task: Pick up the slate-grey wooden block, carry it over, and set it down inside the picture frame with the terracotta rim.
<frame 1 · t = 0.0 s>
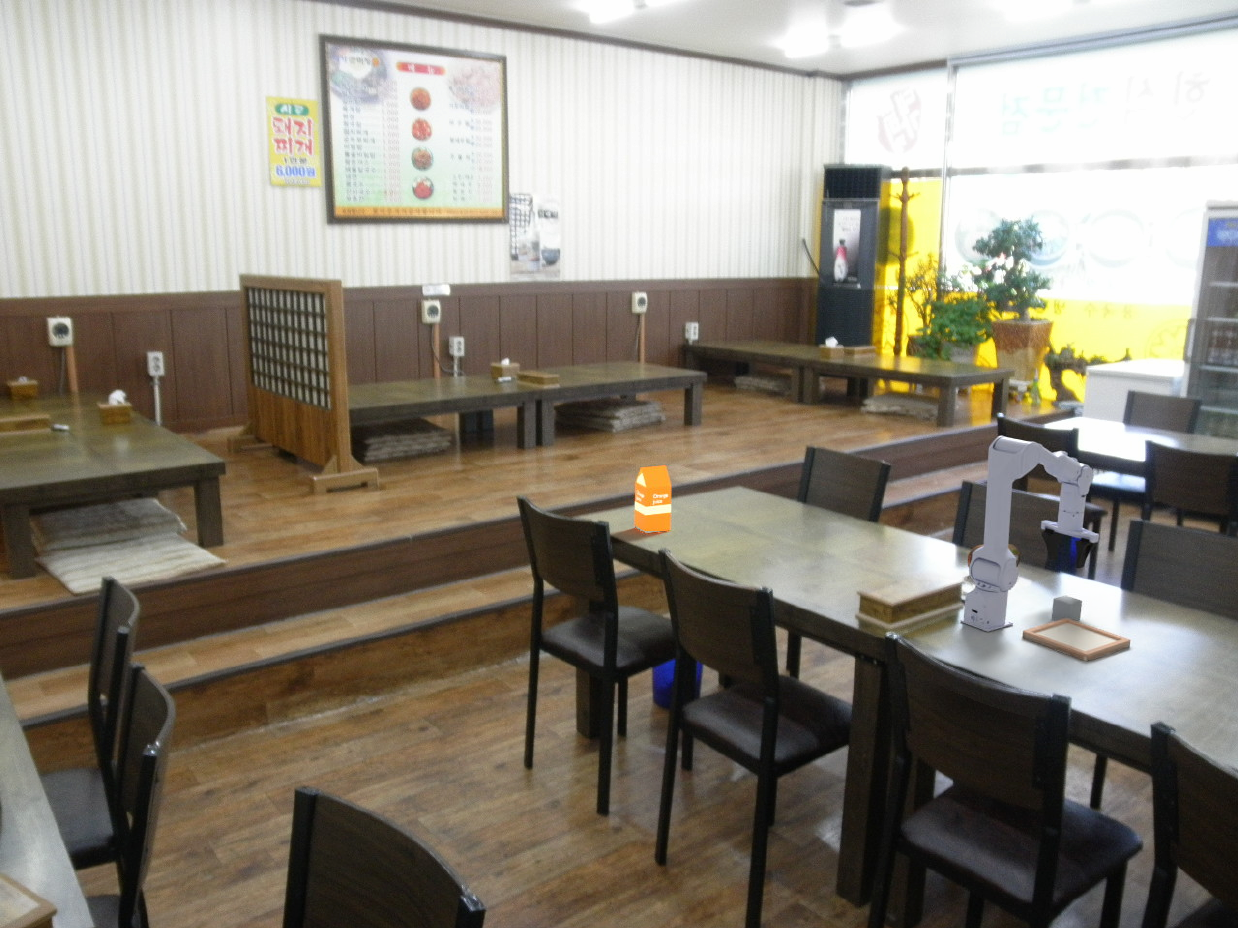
hand: (1065, 563, 256), 10 cm above the table, tool pointing down, fingers open, 7 cm apart
tin: (992, 574, 280), on the table
orange juice: (652, 530, 320), on the table
picture frame: (1075, 641, 232), on the table
block: (1065, 619, 246), on the table
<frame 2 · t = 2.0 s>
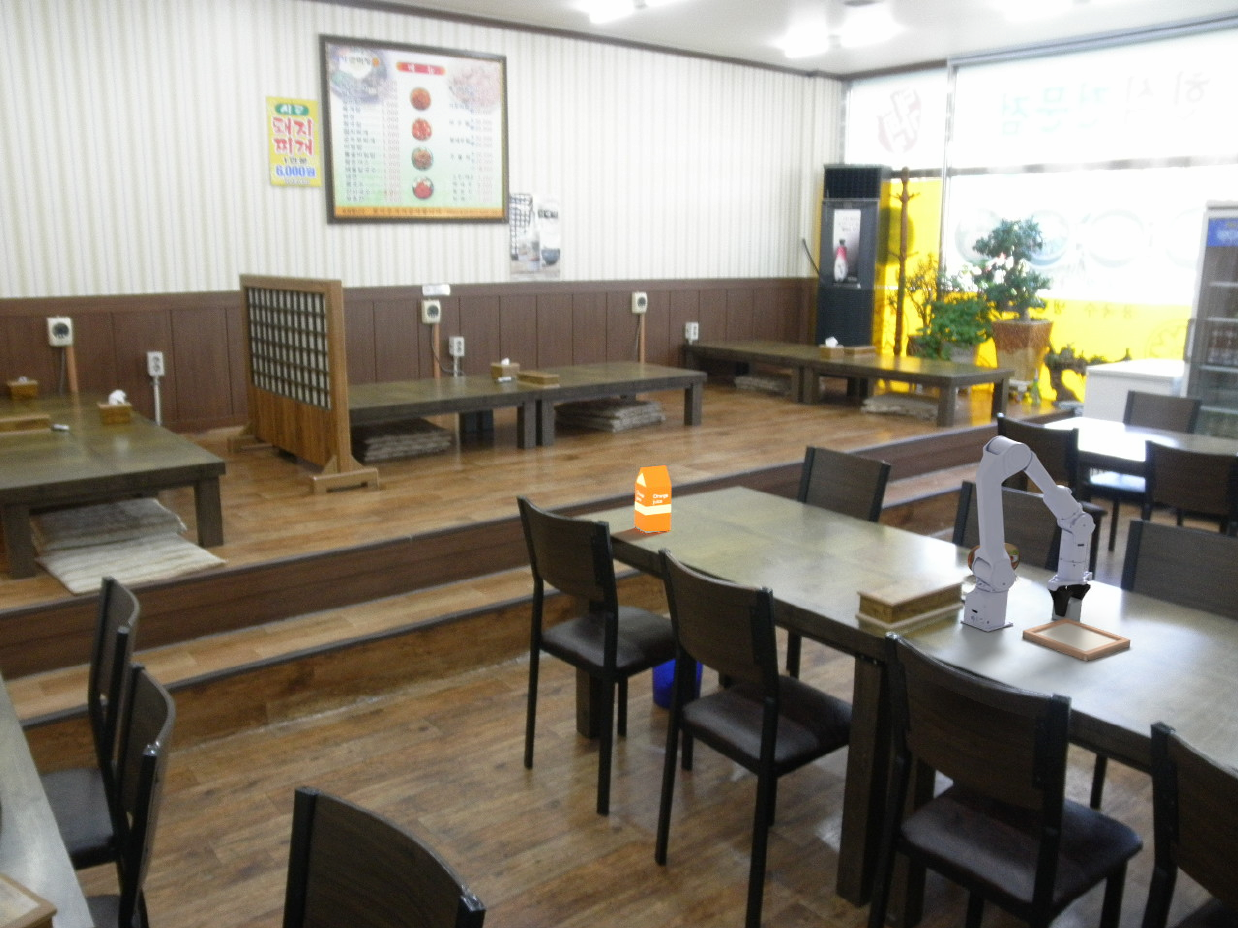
hand: (1066, 613, 246), 1 cm above the table, tool pointing down, fingers closed on block, 4 cm apart
block: (1065, 619, 246), on the table, touching gripper
everything else where it was.
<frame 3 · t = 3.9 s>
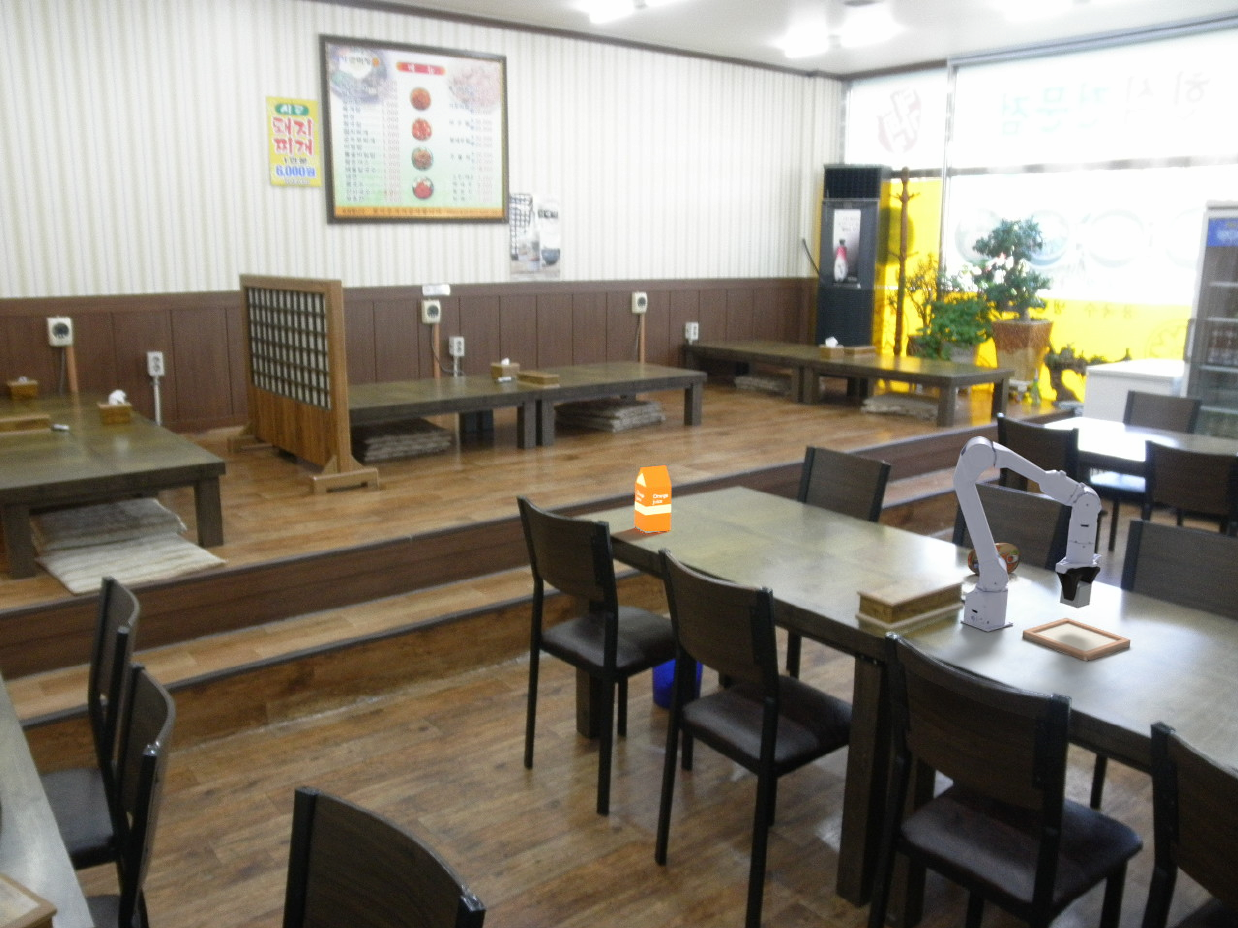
hand: (1075, 597, 236), 8 cm above the table, tool pointing down, fingers closed on block, 4 cm apart
block: (1074, 603, 237), point 7 cm above the table, touching gripper
everything else where it was.
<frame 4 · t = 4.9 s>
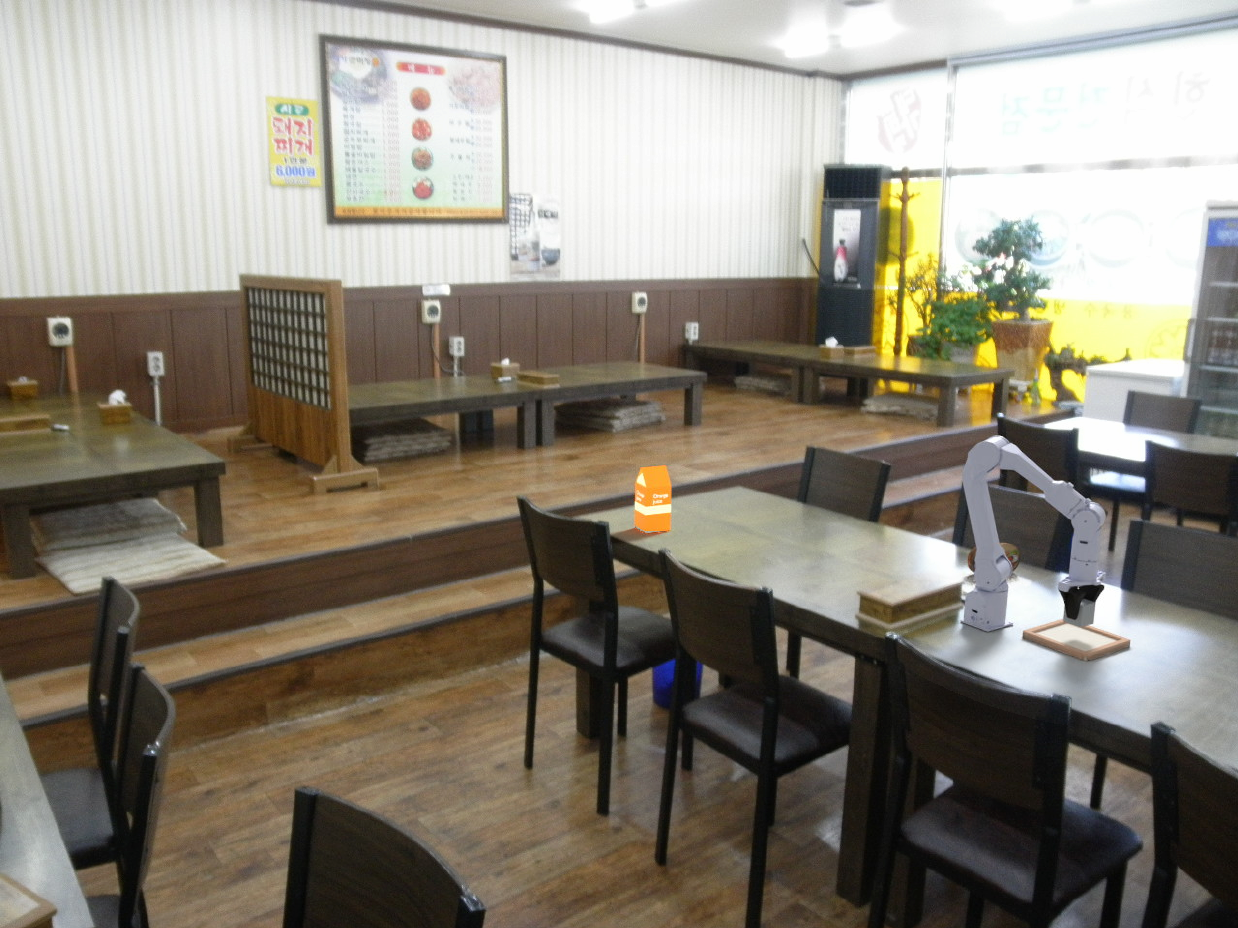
hand: (1078, 616, 231), 6 cm above the table, tool pointing down, fingers closed on block, 4 cm apart
block: (1078, 622, 231), point 5 cm above the table, touching gripper
everything else where it was.
when the fingers open (4 cm above the table, at t = 5.8 s): block drops 1 cm, resting on picture frame.
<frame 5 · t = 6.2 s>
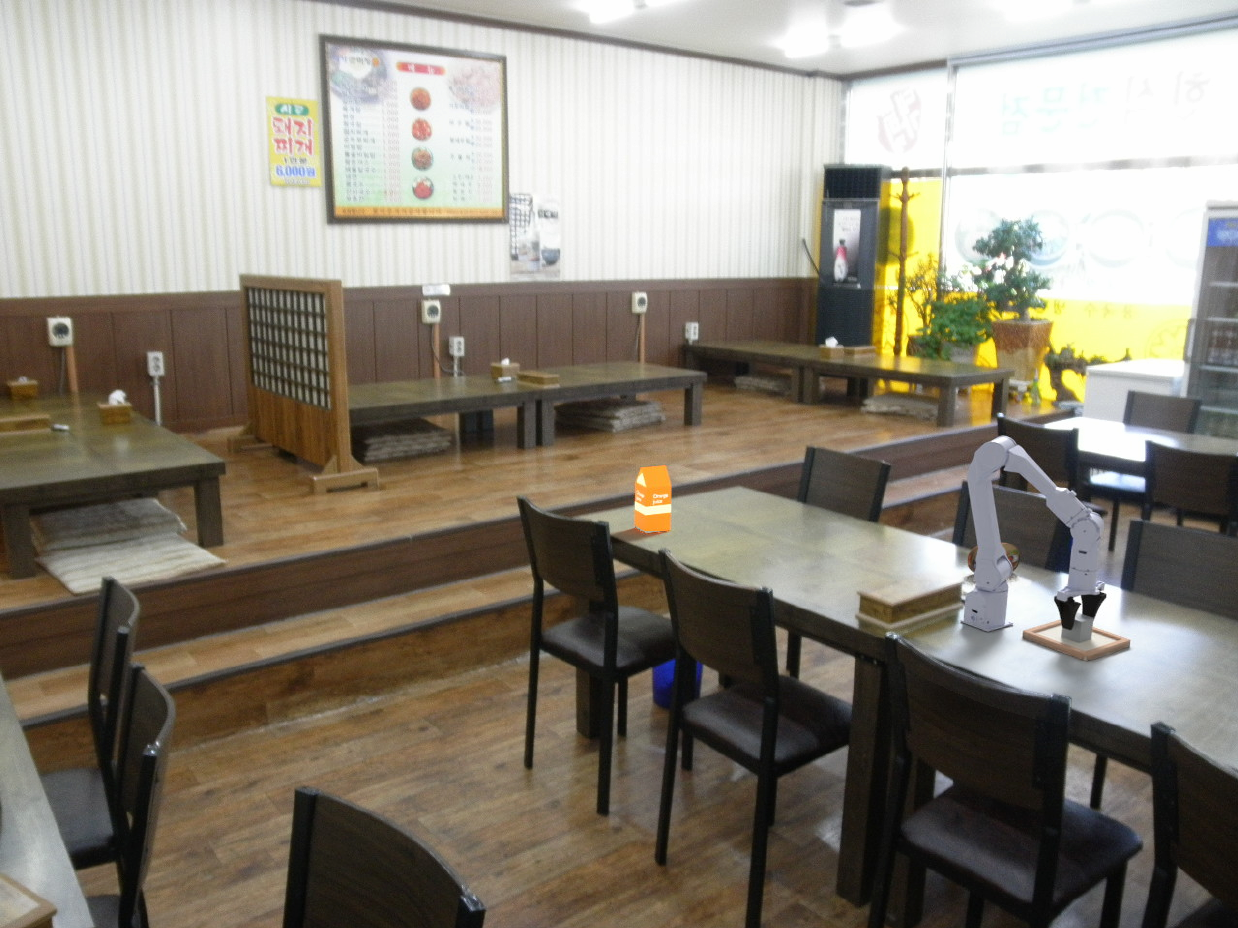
hand: (1077, 625, 232), 4 cm above the table, tool pointing down, fingers open, 7 cm apart
block: (1076, 637, 232), point 1 cm above the table, touching picture frame
everything else where it was.
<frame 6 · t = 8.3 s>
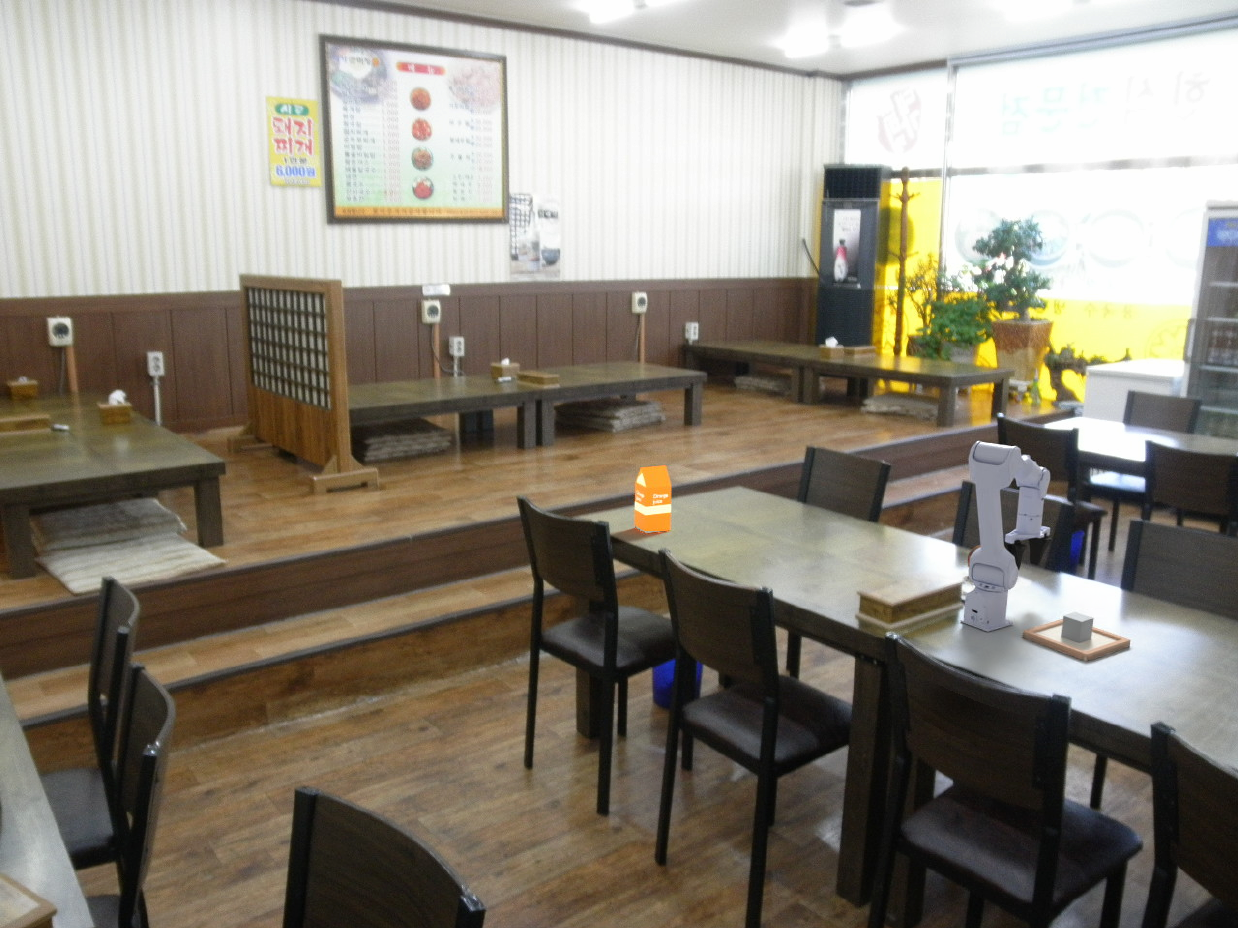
hand: (1024, 566, 255), 9 cm above the table, tool pointing down, fingers open, 7 cm apart
nothing on the table moved.
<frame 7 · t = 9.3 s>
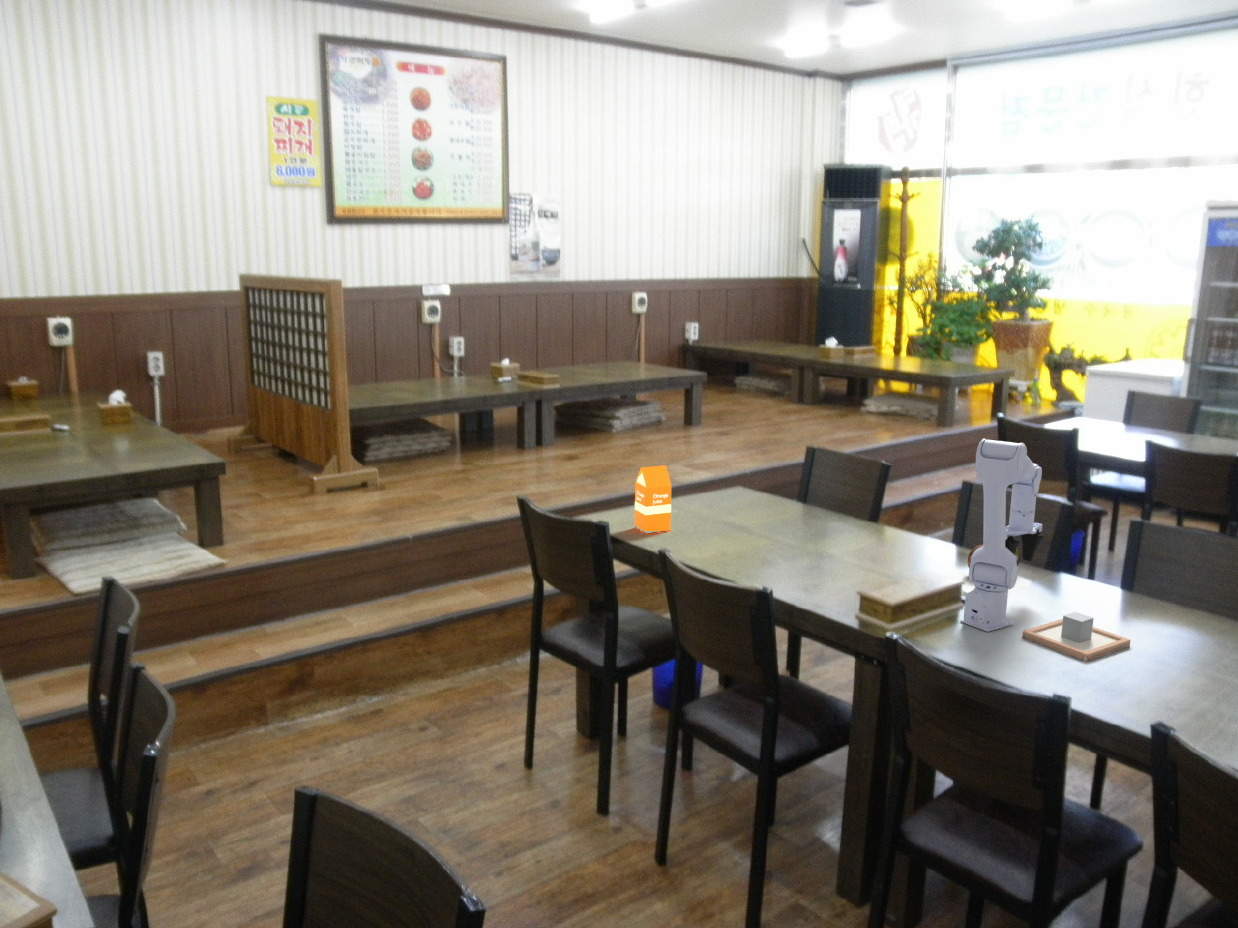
hand: (1017, 562, 259), 9 cm above the table, tool pointing down, fingers open, 7 cm apart
nothing on the table moved.
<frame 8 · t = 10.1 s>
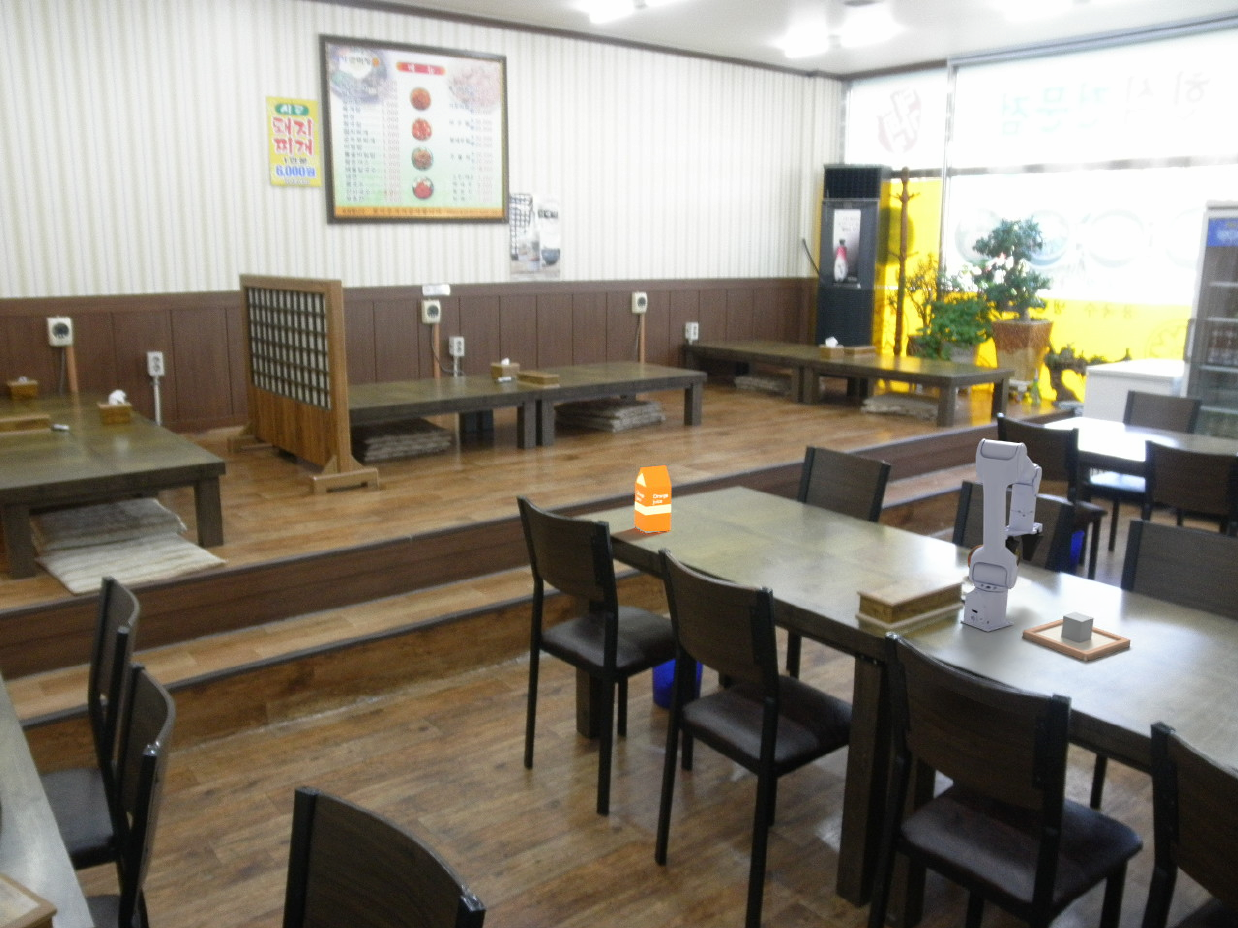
hand: (1017, 562, 259), 9 cm above the table, tool pointing down, fingers open, 7 cm apart
nothing on the table moved.
at the end: block inside the target area on the picture frame (0.1 cm from its centre), point 1.0 cm above the picture frame's base; block tilted 0°; the gripper is holding nothing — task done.
